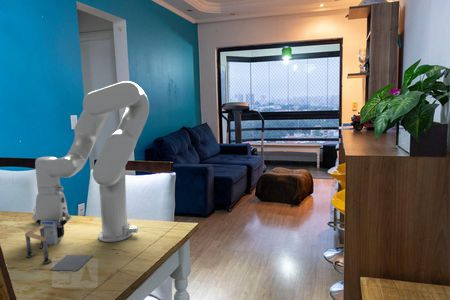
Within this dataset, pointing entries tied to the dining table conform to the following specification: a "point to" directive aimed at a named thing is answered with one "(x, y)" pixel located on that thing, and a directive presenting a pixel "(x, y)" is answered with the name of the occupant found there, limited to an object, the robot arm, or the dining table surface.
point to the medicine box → (51, 231)
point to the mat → (71, 263)
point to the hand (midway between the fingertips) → (53, 236)
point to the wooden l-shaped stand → (38, 237)
